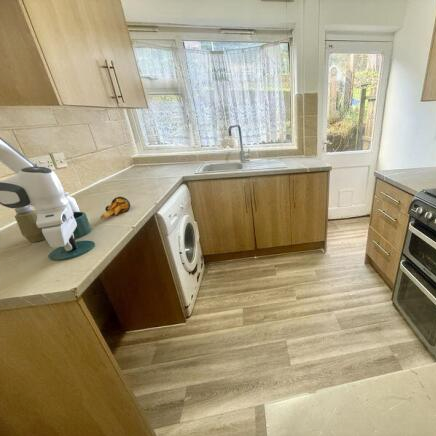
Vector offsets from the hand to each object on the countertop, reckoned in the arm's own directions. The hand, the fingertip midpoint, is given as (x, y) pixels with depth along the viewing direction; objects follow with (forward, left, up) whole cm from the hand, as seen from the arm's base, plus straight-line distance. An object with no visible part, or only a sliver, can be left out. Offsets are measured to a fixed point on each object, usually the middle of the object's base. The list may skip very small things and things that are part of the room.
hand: (71, 247), depth 91 cm
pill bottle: (-6, +35, -2) cm, 36 cm away
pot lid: (0, 0, -2) cm, 2 cm away
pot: (-3, +18, -2) cm, 18 cm away
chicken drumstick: (+12, +34, -2) cm, 36 cm away
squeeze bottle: (-15, +21, -2) cm, 26 cm away
